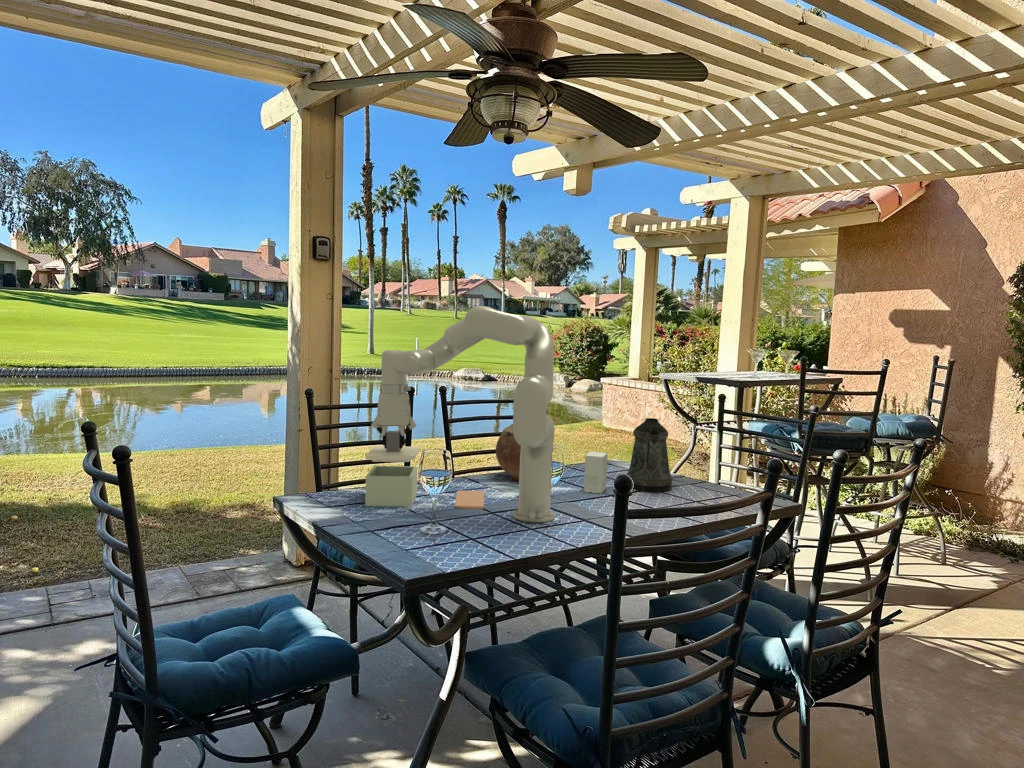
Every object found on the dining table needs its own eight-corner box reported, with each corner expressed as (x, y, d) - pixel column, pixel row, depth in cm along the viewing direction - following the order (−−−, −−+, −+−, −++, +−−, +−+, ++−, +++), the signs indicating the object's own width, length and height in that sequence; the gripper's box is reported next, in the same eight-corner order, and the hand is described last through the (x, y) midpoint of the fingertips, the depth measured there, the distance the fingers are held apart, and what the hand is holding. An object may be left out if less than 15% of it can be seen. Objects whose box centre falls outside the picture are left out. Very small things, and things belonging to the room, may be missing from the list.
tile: (483, 509, 210) (483, 506, 210) (425, 508, 209) (425, 505, 209) (483, 493, 230) (483, 490, 230) (430, 492, 229) (430, 490, 229)
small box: (588, 487, 243) (590, 451, 242) (606, 489, 241) (607, 452, 240) (583, 492, 236) (584, 455, 235) (601, 494, 234) (602, 456, 233)
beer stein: (654, 481, 257) (657, 415, 254) (686, 493, 239) (690, 422, 237) (616, 483, 250) (619, 416, 248) (646, 496, 232) (649, 423, 230)
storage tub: (411, 509, 207) (412, 477, 206) (365, 508, 207) (365, 476, 206) (416, 496, 223) (417, 466, 222) (373, 495, 222) (374, 465, 222)
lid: (414, 463, 206) (414, 436, 205) (365, 462, 205) (365, 435, 204) (419, 453, 222) (419, 428, 221) (374, 452, 222) (374, 427, 221)
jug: (484, 475, 257) (486, 397, 255) (529, 470, 270) (531, 395, 267) (517, 487, 239) (520, 403, 237) (564, 481, 252) (567, 400, 250)
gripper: (421, 389, 216) (421, 446, 217) (368, 388, 215) (368, 445, 217) (419, 391, 208) (419, 450, 210) (364, 390, 208) (364, 449, 209)
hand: (393, 447), depth 213 cm, fingers closed on lid, 4 cm apart
